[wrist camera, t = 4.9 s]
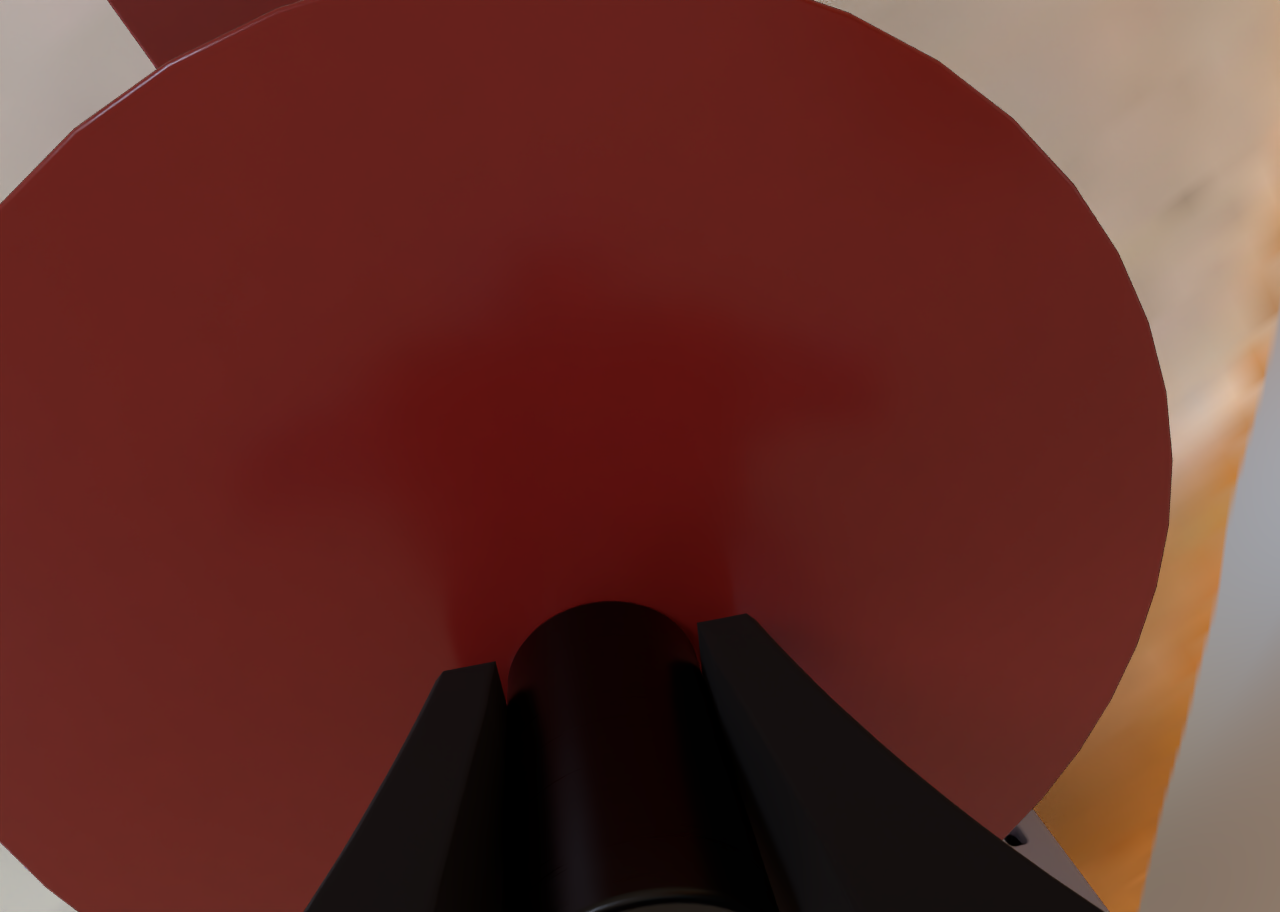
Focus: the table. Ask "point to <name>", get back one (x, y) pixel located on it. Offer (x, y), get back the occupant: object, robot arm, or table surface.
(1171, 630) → the table surface
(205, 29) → the pot
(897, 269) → the lid
